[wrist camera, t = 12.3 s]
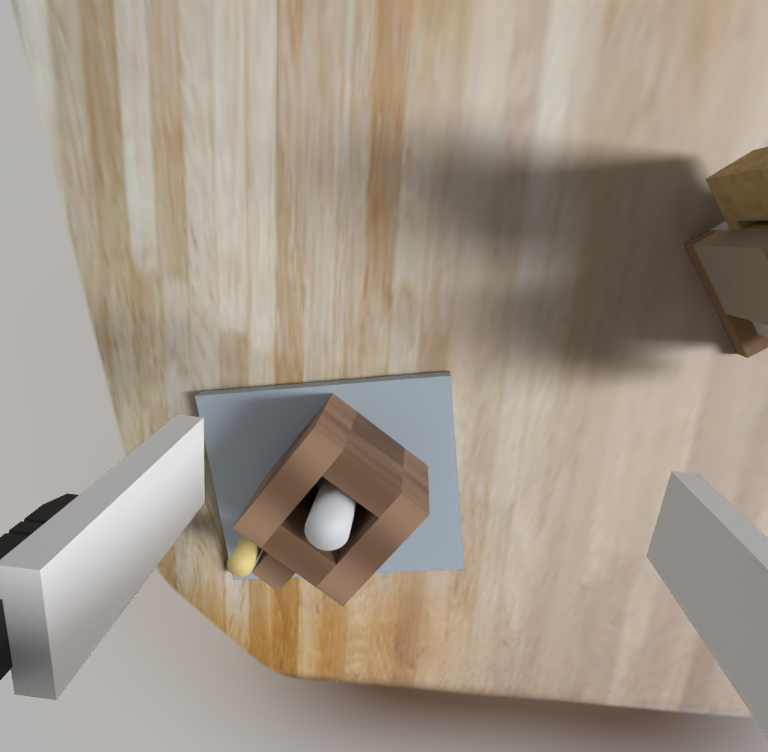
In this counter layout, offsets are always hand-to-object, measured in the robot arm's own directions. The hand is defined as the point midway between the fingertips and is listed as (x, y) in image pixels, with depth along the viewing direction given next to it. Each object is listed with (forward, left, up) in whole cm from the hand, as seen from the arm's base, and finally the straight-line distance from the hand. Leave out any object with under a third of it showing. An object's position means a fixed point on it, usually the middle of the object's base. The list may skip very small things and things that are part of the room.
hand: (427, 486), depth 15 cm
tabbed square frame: (+12, -8, -23) cm, 27 cm away
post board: (+11, -8, -24) cm, 27 cm away
